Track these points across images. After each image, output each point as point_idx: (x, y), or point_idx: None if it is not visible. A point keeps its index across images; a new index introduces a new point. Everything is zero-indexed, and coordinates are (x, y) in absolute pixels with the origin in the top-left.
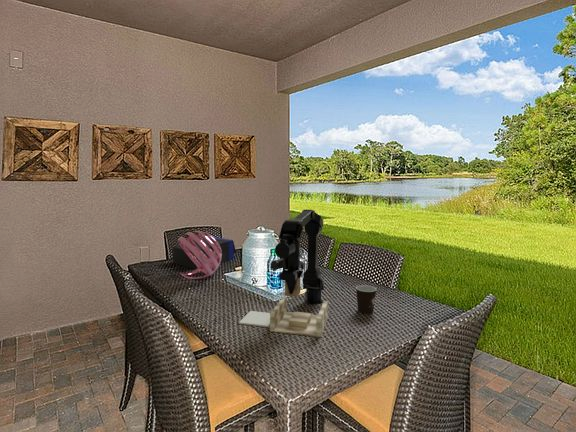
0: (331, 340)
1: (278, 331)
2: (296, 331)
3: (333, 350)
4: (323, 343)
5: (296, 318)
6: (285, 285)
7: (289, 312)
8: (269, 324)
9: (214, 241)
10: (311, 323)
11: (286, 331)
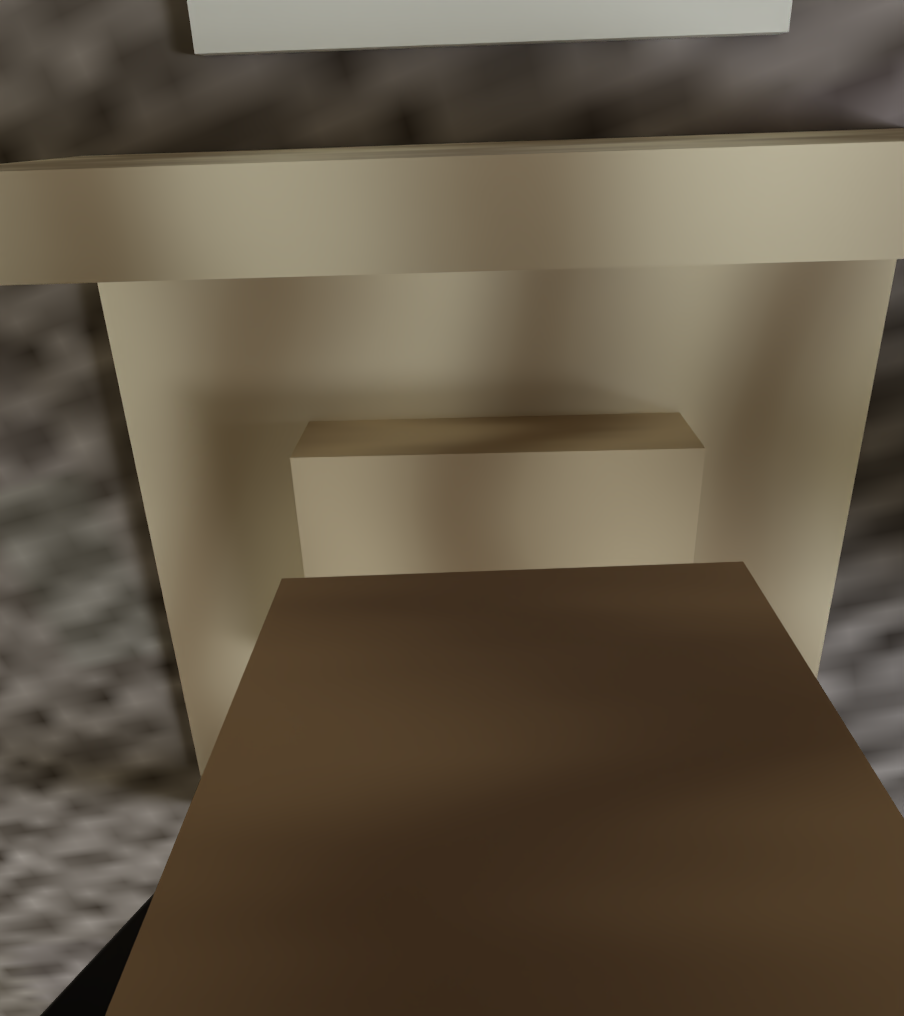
0: None
1: (109, 306)
2: (194, 561)
3: (8, 931)
4: (94, 847)
5: (408, 552)
6: (162, 924)
7: (879, 268)
8: (284, 52)
9: None
10: None
11: (131, 435)
